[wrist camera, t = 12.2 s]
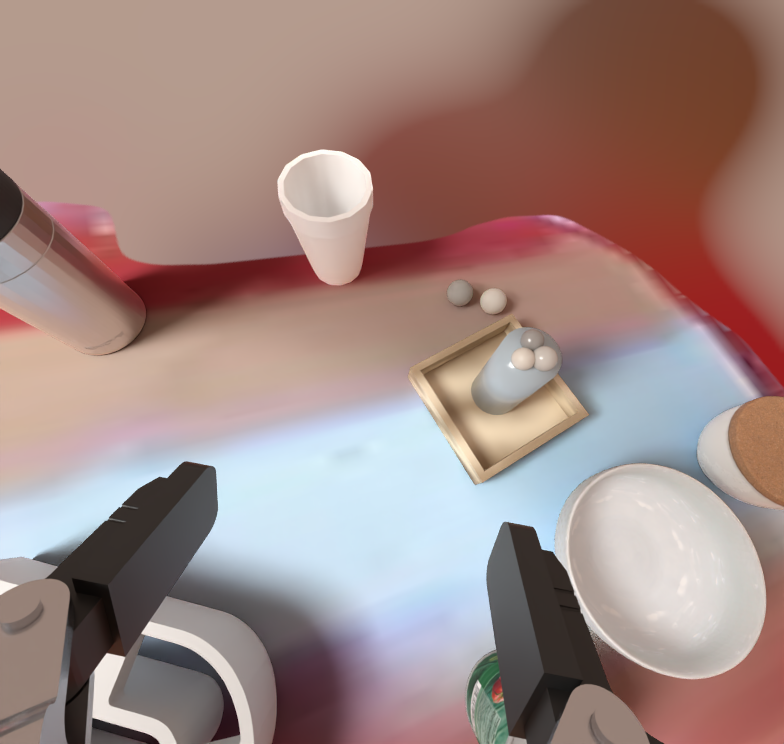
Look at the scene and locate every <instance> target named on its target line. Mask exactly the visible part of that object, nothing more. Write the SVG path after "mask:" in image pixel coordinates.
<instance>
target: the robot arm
mask: <svg viewBox="0 0 784 744" xmlns="http://www.w3.org/2000/svg"><path fill="white" fill-rule="evenodd" d="M0 309H2V310H4V311H6V312H8V313H10V314H11V315H13V316H15V317H17V318H19V319H21V320H22V321H24V322H26V323H28V324H30V325H32V326H33V327H35V328H37V329H39V330H41V331H43V332H44V333H46V334H48V335H50V336H52V337H53V338H55V339H57V340H59V341H61V342H63V343H64V344H66V345H68V346H70V347H72V348H74V349H75V350H77V351H80V352H82V353H84V354H89V355H104V354H109V353H112V352H115V351H118V350H119V349H121V348H123V347H125V346H126V345H128V344H129V343H130V342H132V341H133V340H134V339H135V338H136V336H137V335H138V334H139V333H140V331H141V329H142V328H143V325H144V322H145V318H146V309H145V305H144V303H143V300H142V299H141V298H140V297H139V296H138V295H137V294H136V293H135V292H134V291H133V290H132V289H131V288H130V287H129V286H128V285H126V284H125V283H124V282H123V281H122V280H121V279H120V278H119V277H118V276H117V275H116V274H115V273H114V272H112V271H111V270H110V269H109V268H108V267H107V266H106V265H105V264H104V263H103V262H101V261H100V260H99V259H98V258H97V257H96V256H95V255H94V254H93V253H92V252H91V251H89V250H88V249H87V248H86V247H85V246H84V245H83V244H82V243H81V242H80V241H79V240H77V239H76V238H75V237H74V236H73V235H72V234H71V233H70V232H69V231H68V230H67V229H65V228H64V227H63V226H62V225H61V224H60V223H59V222H58V221H57V220H56V219H54V218H53V217H52V216H51V215H50V214H49V213H48V212H47V211H46V210H45V209H44V208H42V207H41V206H40V205H39V204H38V203H37V202H36V201H35V200H33V199H32V198H31V197H30V196H29V195H28V194H27V193H26V192H25V191H24V190H23V189H21V188H20V187H19V186H18V185H17V184H16V183H15V182H14V181H13V180H12V179H11V178H10V177H8V176H7V175H6V174H5V173H4V172H3V171H2V170H1V169H0ZM217 511H218V501H217V482H216V470H215V468H214V467H213V466H208V465H203V464H198V463H192V462H183V463H182V464H181V465H179V466H178V467H177V469H176V470H175V471H174V472H173V473H172V474H171V475H170V476H169V477H168V478H163V477H158V478H157V479H155V480H153V481H151V482H149V483H148V484H146V485H144V486H142V487H140V488H139V489H138V490H136V491H135V492H134V493H133V494H132V495H131V496H130V497H129V498H128V499H127V500H126V501H125V502H124V503H123V504H122V507H121V508H120V507H119V508H118V509H117V510H116V511H115V512H114V513H113V514H112V515H111V516H110V517H109V519H108V521H105V522H104V523H103V524H102V525H100V526H99V527H98V528H97V529H96V530H95V531H94V532H93V533H92V534H91V535H90V536H89V537H88V538H87V539H86V540H85V541H84V542H83V543H82V544H81V545H80V546H79V547H78V548H77V549H76V550H75V551H74V552H73V553H72V554H71V555H70V556H69V557H68V558H67V559H66V560H64V561H63V562H62V563H61V564H60V565H59V566H58V567H57V568H56V569H55V570H54V571H53V572H52V573H51V574H50V575H49V576H48V577H46V578H45V579H39V580H34V581H30V582H27V583H24V584H21V585H18V586H16V587H14V588H12V589H10V590H8V591H6V592H4V593H3V594H1V595H0V744H91V732H92V715H93V698H94V681H95V674H94V670H95V669H96V667H97V666H98V665H99V663H100V662H101V660H102V659H103V658H104V656H105V655H106V653H108V654H113V655H118V656H123V657H126V655H127V654H128V652H129V651H130V649H131V648H132V646H133V645H134V643H135V642H136V640H137V639H138V637H139V636H140V635H141V633H142V632H143V630H144V629H145V627H146V626H147V624H148V623H149V621H150V620H151V618H152V617H153V615H154V614H155V612H156V611H157V609H158V608H159V606H160V605H161V603H162V602H163V600H164V599H165V598H166V596H167V595H168V593H169V592H170V590H171V589H172V587H173V586H174V584H175V583H176V581H177V580H178V578H179V577H180V575H181V574H182V572H183V571H184V569H185V568H186V566H187V565H188V563H189V562H190V560H191V559H192V558H193V556H194V555H195V553H196V552H197V550H198V549H199V547H200V546H201V544H202V543H203V541H204V540H205V538H206V537H207V535H208V534H209V532H210V531H211V529H212V527H213V525H214V522H215V520H216V516H217ZM487 589H488V596H489V603H490V610H491V617H492V624H493V630H494V637H495V644H496V651H497V658H498V665H499V671H500V678H501V685H502V692H503V699H504V706H505V712H506V719H507V726H508V733H509V736H512V737H517V738H522V739H526V742H527V744H664V743H662V742H660V741H659V740H657V739H655V738H654V737H652V736H651V735H649V734H648V733H647V732H645V731H644V729H643V727H642V725H641V724H640V722H639V720H638V719H637V717H636V716H635V715H634V713H633V712H632V711H631V710H630V709H629V707H628V706H627V705H626V704H625V703H624V702H623V701H622V700H620V699H619V698H618V697H617V696H616V695H614V694H613V692H612V690H611V688H610V686H609V684H608V681H607V678H606V676H605V673H604V670H603V668H602V665H601V662H600V659H599V657H598V654H597V651H596V649H595V646H594V643H593V640H592V638H591V635H590V632H589V630H588V627H587V624H586V622H585V619H584V616H583V614H582V613H581V608H580V605H579V603H578V600H577V597H576V596H575V595H574V589H573V586H572V584H571V581H570V578H569V576H568V573H567V570H566V569H565V568H564V566H563V565H562V564H561V563H560V561H559V560H558V559H557V557H556V556H555V555H554V553H553V552H551V551H546V550H542V549H541V546H540V543H539V540H538V537H537V534H536V531H535V529H534V528H533V527H530V526H525V525H519V524H514V523H509V522H504V523H503V524H502V526H501V528H500V531H499V533H498V536H497V539H496V542H495V544H494V547H493V550H492V552H491V555H490V558H489V561H488V565H487Z"/></svg>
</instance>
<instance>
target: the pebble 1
mask: <svg viewBox="0 0 784 744" xmlns="http://www.w3.org/2000/svg"><path fill="white" fill-rule="evenodd" d="M472 296H473V289H472V286H471V285H470V283H468V282H467V281H465V280H456V281H454V282H452V283H451V284H450V285H449V287H448V289H447V297H448V299H449V301H450V302H451V303H452V304H454V305H456V306H463V305H466V304H467V303H468V302H469V301H470V300H471V299H472Z"/></svg>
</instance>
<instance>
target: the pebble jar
mask: <svg viewBox="0 0 784 744" xmlns="http://www.w3.org/2000/svg"><path fill="white" fill-rule="evenodd" d="M561 364H562V356H561V351H560V349H559V347H558V345H557V343H556V342H555V340H554V339H553V338H552V337H551V336H549V335H548V334H547V333H545V332H544V331H541V330H539V329H536V328H531V327H522V328H518V329H515V330H513V331H511V332H510V333H509V334H508V335H507V336H506V337H505V338H504V340H503V341H502V342H501V344H500V345H499V346H498V348H497V349H496V351H495V352H494V353H493V355H492V356H491V357H490V359H489V360H488V361H487V363H486V364H485V365H484V367H483V368H482V370H481V371H480V372H479V374H478V375H477V376H476V378H475V379H474V381H473V383H472V386H471V394H472V398H473V400H474V402H475V404H476V405H477V406H478V407H479V408H480V409H481V410H482V411H484V412H486V413H488V414H492V415H502V414H505V413H507V412H509V411H511V410H512V409H513V408H514V407H516V406H517V405H518V404H520V403H521V402H522V401H524V400H525V399H526V398H528V397H529V396H530V395H532V394H533V393H534V392H535V391H537V390H538V389H539V388H541V387H542V386H543V385H545V384H546V383H547V382H549V381H550V380H551V379H553V378H554V377H555V376H556V375H557V373H558V372H559V370H560V368H561Z"/></svg>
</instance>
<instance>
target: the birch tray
mask: <svg viewBox="0 0 784 744" xmlns="http://www.w3.org/2000/svg"><path fill="white" fill-rule="evenodd" d="M518 328H522V326H521V325H520V323H519V322H518V321H517V319H516V318H515V317H514V316H513V314H510V315H508V316H507V317H505V318H503V319H501V320H499V321H497V322H495V323H493V324H491V325H490V326H488V327H486V328H484V329H482V330H480V331H478V332H476V333H475V334H473V335H471V336H469V337H467V338H465V339H463V340H461V341H460V342H458V343H456V344H454V345H452V346H450V347H448V348H446V349H444V350H443V351H441V352H439V353H437V354H435V355H433V356H431V357H429V358H428V359H426V360H424V361H422V362H420V363H418V364H416V365H414V366H413V367H411V368H410V371H409V375H408V378H409V380H410V382H411V383H412V385H413V386H414V388H415V390H416V391H417V393H418V395H419V396H420V398H421V399H422V401H423V403H424V404H425V406H426V407H427V409H428V411H429V412H430V414H431V415H432V417H433V419H434V420H435V422H436V423H437V425H438V427H439V428H440V430H441V431H442V433H443V435H444V436H445V438H446V439H447V441H448V443H449V444H450V446H451V447H452V449H453V451H454V452H455V454H456V455H457V457H458V459H459V460H460V462H461V463H462V465H463V467H464V468H465V470H466V472H467V473H468V475H469V476H470V478H471V480H472V481H473V483H474V484H475V485H476V484H479V483H483V482H484V481H486V480H487V479H489V478H490V477H492V476H494V475H495V474H497V473H498V472H500V471H501V470H503V469H505V468H506V467H508V466H509V465H511V464H512V463H514V462H516V461H517V460H519V459H520V458H522V457H524V456H525V455H527V454H528V453H530V452H531V451H533V450H535V449H536V448H538V447H539V446H541V445H542V444H544V443H546V442H547V441H549V440H550V439H552V438H553V437H555V436H557V435H558V434H560V433H561V432H563V431H564V430H566V429H568V428H569V427H571V426H572V425H574V424H576V423H577V422H579V421H580V420H582V419H583V418H585V417H587V416H588V415H589V414H588V412H587V411H586V410H585V409H584V407H583V406H582V405H581V403H580V402H579V401H578V399H577V398H576V397H575V395H574V394H573V393H572V392H571V390H570V389H569V388H568V386H567V385H566V384H565V382H564V381H563V380H562V378H561V377H560V376H559V374H558V373H557V375H556V376H555V377H554V378H553V379H551V380H550V381H549V382H547V383H546V384H545V385H543V386H542V387H541V388H539V389H538V390H537V391H535V392H534V393H533V394H532V395H530V396H529V397H528V398H526V399H525V400H524V401H522V402H521V403H520V404H518V405H517V406H516V407H514V408H513V409H512V410H511V411H509V412H507V413H505V414H502V415H492V414H488V413H486V412H484V411H482V410H481V409H480V408H479V407H478V406H477V405H476V404H475V402H474V400H473V398H472V394H471V386H472V383H473V381H474V379H475V378H476V376H477V375H478V374H479V372H480V371H481V370H482V368H483V367H484V365H485V364H486V363H487V361H488V360H489V359H490V357H491V356H492V355H493V353H494V352H495V351H496V349H497V348H498V346H499V345H500V344H501V342H502V341H503V340H504V338H505V337H506V336H507V335H508V334H509V333H510V332H511V331H513V330H515V329H518Z"/></svg>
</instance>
